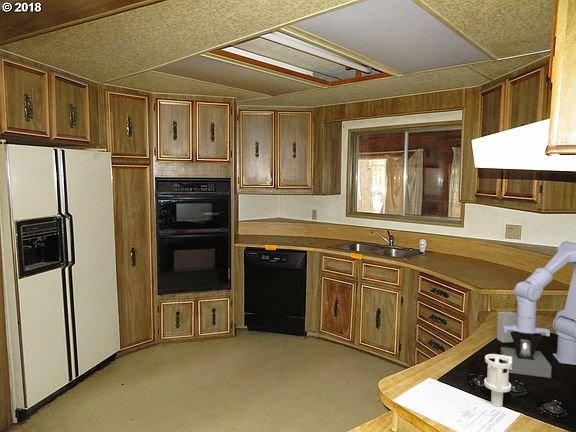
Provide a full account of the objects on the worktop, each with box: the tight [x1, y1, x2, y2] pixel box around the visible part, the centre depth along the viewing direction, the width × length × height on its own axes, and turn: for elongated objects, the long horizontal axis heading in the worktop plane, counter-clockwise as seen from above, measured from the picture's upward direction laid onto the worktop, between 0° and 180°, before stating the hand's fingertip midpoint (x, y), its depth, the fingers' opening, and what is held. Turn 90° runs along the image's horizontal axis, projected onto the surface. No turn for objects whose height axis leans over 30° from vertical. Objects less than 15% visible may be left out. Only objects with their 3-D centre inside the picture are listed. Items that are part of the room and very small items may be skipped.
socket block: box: [500, 346, 552, 379], centre depth 142 cm, size 13×13×4 cm
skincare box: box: [496, 310, 517, 343], centre depth 166 cm, size 6×4×12 cm
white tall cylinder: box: [483, 353, 512, 408], centre depth 117 cm, size 7×7×15 cm
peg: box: [518, 338, 532, 360], centre depth 142 cm, size 4×4×7 cm
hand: (524, 353), depth 142 cm, fingers closed on peg, 4 cm apart
